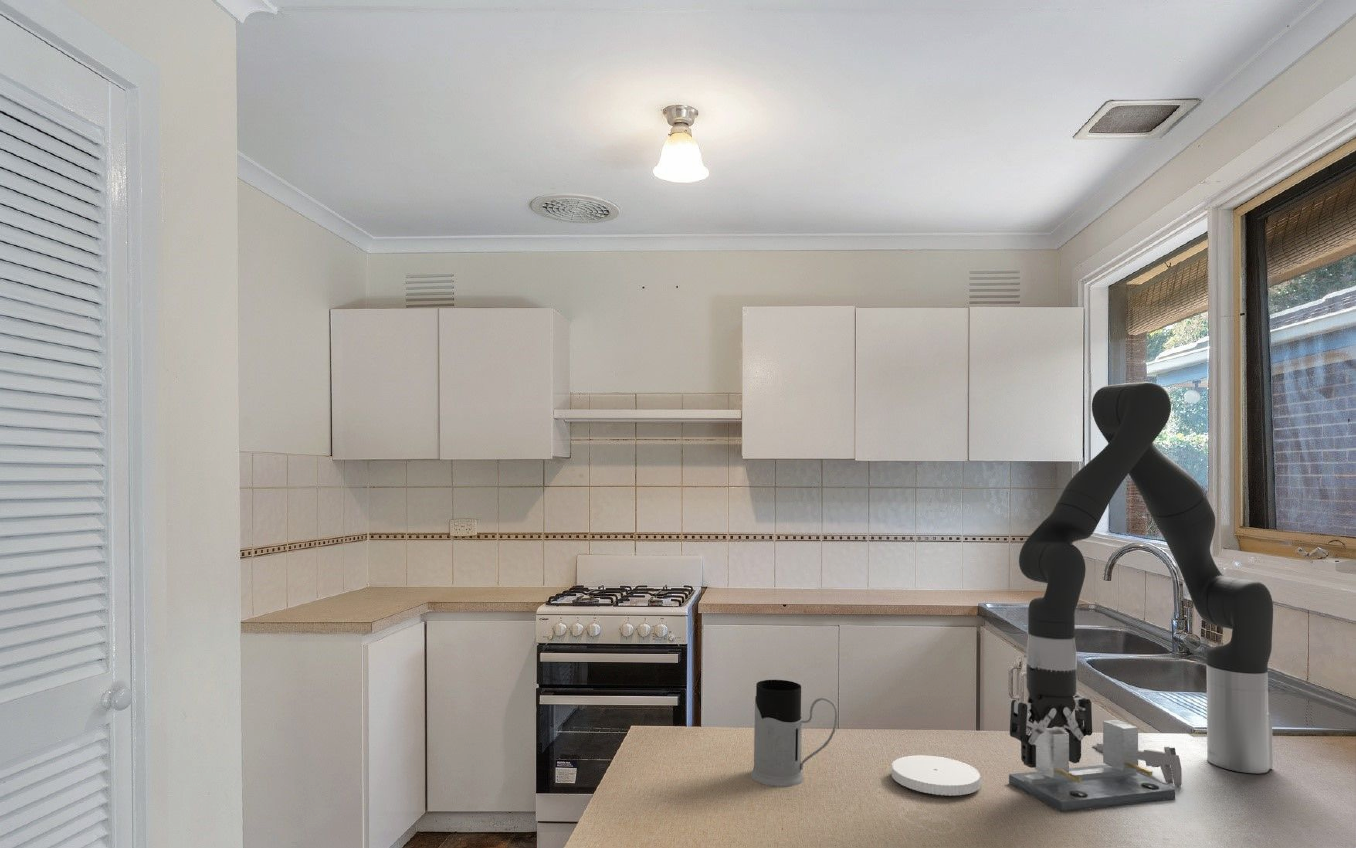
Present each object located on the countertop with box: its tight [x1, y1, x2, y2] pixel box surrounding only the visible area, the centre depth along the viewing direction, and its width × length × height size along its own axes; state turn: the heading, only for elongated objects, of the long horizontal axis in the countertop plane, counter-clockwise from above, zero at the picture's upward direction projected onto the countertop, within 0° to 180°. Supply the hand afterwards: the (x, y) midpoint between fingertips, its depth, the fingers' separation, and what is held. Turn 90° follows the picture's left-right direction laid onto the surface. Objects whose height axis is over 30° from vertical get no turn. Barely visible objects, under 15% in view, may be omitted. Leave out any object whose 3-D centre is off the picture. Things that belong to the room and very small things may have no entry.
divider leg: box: [1034, 727, 1081, 783], centre depth 136 cm, size 3×8×7 cm, turn 17°
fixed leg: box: [1102, 719, 1154, 776], centre depth 140 cm, size 3×8×7 cm, turn 17°
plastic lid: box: [891, 754, 982, 797], centre depth 139 cm, size 14×14×2 cm
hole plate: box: [1008, 764, 1176, 813], centre depth 137 cm, size 22×12×2 cm, turn 107°
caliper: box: [1091, 742, 1183, 787], centre depth 150 cm, size 20×1×6 cm, turn 12°
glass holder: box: [750, 679, 838, 788], centre depth 140 cm, size 9×14×15 cm, turn 70°
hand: (1051, 764), depth 137 cm, fingers open, 8 cm apart
